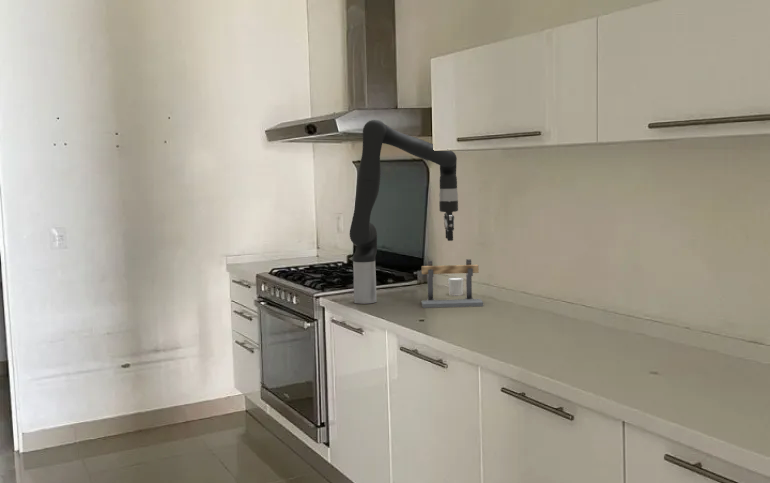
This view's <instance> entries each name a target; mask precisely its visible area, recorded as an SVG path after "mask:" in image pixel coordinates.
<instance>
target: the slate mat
mask: <svg viewBox="0 0 770 483" xmlns="http://www.w3.org/2000/svg"><path fill="white" fill-rule="evenodd" d="M469 306H471V307H484V302H483V300H482V299H481V298H473V299H465V298H464V299H463V298H461V299H459V298H458V299H434V300H427V299H426V300H425V299H423V300H421V307H422V308H423V309H424V308H425V309H427V308H428V309H429V308H430V309H431V308H432V309H433V308H461V307H462V308H463V307H464V308H466V307H467V308H470V307H469Z"/></svg>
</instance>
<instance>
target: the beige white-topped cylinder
mask: <svg viewBox="0 0 770 483" xmlns="http://www.w3.org/2000/svg"><path fill="white" fill-rule="evenodd" d="M464 280H465V279H464V278H463V277H449V278H448V279H447V282H448V294H449V296H455V297H456V296H457V297H458V296H463V292H464Z"/></svg>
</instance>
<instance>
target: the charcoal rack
mask: <svg viewBox="0 0 770 483" xmlns="http://www.w3.org/2000/svg"><path fill="white" fill-rule="evenodd" d="M426 263H427V265H426V266H433V260H426ZM465 265H472V258H471V259H469V258H468V259H465ZM473 276H474V273H473V268H468V273H465V279H466V280H465V282H466V283H465V284H466V286H465V288H466V292H465V293H466V297H464V299H474V298H473V295H472V294H473V292H472V291H473V287H472V286H473V284H472V280H473V279H472V277H473ZM433 278H434V274H433V269H428V274H427V298H426V300H435V298H434V285H433V284H434V283H433V282H434V280H433Z"/></svg>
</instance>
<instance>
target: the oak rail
mask: <svg viewBox="0 0 770 483" xmlns="http://www.w3.org/2000/svg"><path fill="white" fill-rule="evenodd" d="M468 268H473V274H478V273H479V265H478V264H471V265H466V264H448V265H447V264H445V265H432V266H427V265H421V275H428V269H433V275H445V274H446V275H449V274H452V275H453V274H454V275H455V274H466V273H468Z"/></svg>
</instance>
